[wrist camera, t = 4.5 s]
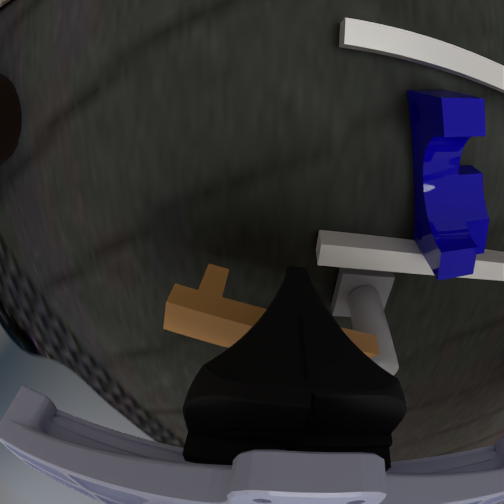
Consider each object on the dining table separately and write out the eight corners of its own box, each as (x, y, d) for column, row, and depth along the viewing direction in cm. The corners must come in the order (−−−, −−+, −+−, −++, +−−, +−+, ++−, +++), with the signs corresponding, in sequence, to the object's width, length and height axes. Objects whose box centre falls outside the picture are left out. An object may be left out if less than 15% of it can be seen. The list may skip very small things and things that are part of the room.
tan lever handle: (384, 290, 17) (406, 361, 12) (370, 313, 18) (385, 384, 13) (197, 237, 16) (164, 303, 12) (192, 266, 17) (161, 333, 13)
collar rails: (558, 101, 10) (574, 106, 9) (491, 311, 18) (499, 325, 17) (340, 23, 11) (345, 17, 10) (306, 302, 19) (307, 319, 18)
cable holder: (464, 230, 16) (496, 269, 12) (412, 237, 16) (437, 280, 13) (465, 89, 12) (510, 100, 8) (405, 89, 12) (441, 97, 9)
